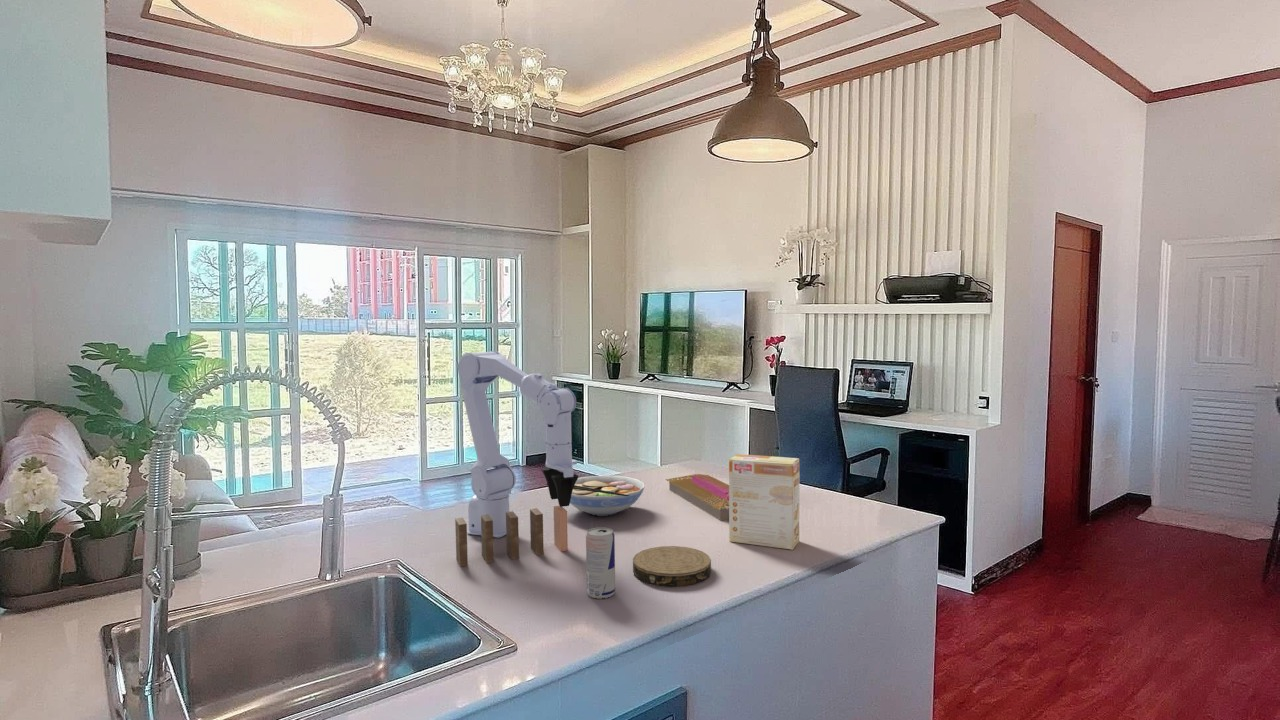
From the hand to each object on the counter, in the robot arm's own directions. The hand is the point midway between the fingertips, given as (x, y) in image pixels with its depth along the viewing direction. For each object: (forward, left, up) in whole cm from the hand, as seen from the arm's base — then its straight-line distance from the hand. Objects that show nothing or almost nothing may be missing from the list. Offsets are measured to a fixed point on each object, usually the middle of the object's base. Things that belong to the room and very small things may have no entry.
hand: (559, 502), depth 156 cm
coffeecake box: (+43, +20, -11) cm, 48 cm away
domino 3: (-8, -8, -10) cm, 15 cm away
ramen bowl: (-2, +28, -11) cm, 31 cm away
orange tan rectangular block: (0, 0, -10) cm, 10 cm away
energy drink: (+20, -20, -11) cm, 30 cm away
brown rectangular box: (+22, +48, -11) cm, 54 cm away
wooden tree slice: (+29, -6, -11) cm, 31 cm away
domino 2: (-12, -12, -10) cm, 20 cm away
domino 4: (-4, -4, -10) cm, 12 cm away
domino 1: (-16, -16, -10) cm, 24 cm away
